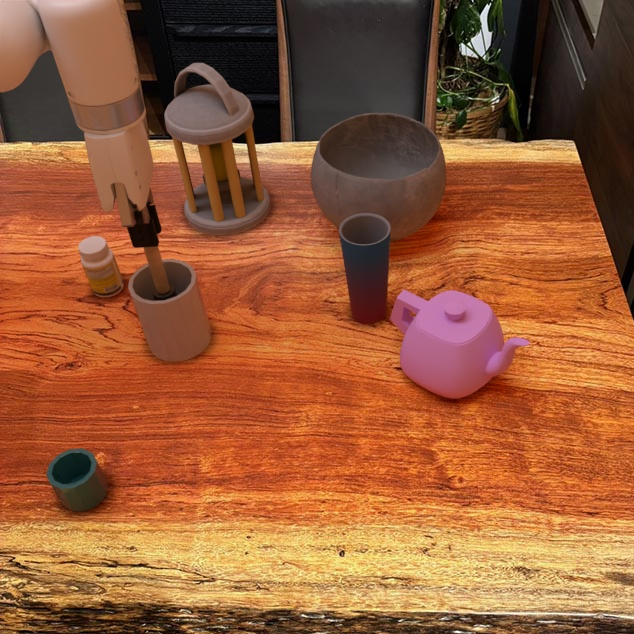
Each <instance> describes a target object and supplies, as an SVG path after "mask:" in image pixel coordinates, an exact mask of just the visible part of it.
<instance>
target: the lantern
mask: <svg viewBox="0 0 634 634" xmlns="http://www.w3.org/2000/svg"><path fill="white" fill-rule="evenodd" d="M189 73H192V74H193V73H194V74H196V75H199V76H201V77H202V78H204V79H205V80H207V82H209V83H210V84H203V85H196V86H193V87H191V88H187V89H186V81H187V77H188V75H189ZM173 95H174V98H173V100H171V101H170V103H169V104H168V105H167V107H166V109H165V111H164V124H165V128H166V129H165V130H166V132H167V133H168V134H169V136H171V138H172V142H173V146H174V151H175V154H176V158H177V163H178V166H179V171H180V175H181V179H182V182H183V186H184V190H185V195H186V198H185V201H184V203H183V209H184V216H185V219H186V221H187V222H188V224H189V225H190V227H192V228H193V229H195V230H196V231H199V232H200V233H203V234H207V235H212V236H230V235H231V236H232V235H236V234H242V233H244V232H246V231H248V230H252V229H254V228H255V227H257V226H258V225H260V224H261V223H262V222H264V220H265V219H266V218H267V216H268V215H269V214H270V210H271V199H270V193H269V191H268V189H266V188H265V187H264V186H263V184H262V178H261V173H260V166H259V160H258V153H257V148H256V143H255V135H254V129H253V122H254V119H255V115H254V110H253V107H252V103H251V100H250V99H249V98H248V97H247V96H246V95H245V94H244V93H243V92H240V91H239V90H236V89H234V88H232V87H230V85H229V84H228V83H227V81H226V80H225V78H224V77H223V76H222V75H221V74H220V73H219V72H218V71H217V70H215V68H214V67H211V66H210V65H208V64H206V63H204V62H194V63H193V62H192V63H191V64H190V65H188V66H186V67H185V68H183V69H182V70H180V71H179V73H178V74H177V77H176V80H175V81H174V90H173ZM242 134H244V137H245V143H246V150H247V155H248V161H249V166H250V171H251V178H250V177H245V176H241V172H240V170H239V168H238V165H237V159H236V154H235V148H234V143H233V140H234V139H236V138H238V137H239V136H241V135H242ZM183 143H186V144H190V145H196V146H197V149H198V154H199V158H200V163H201V166H202V173H203V174H202V181H203V182H202V183H200V184H198V185H197V186H196V187H195V188H194V186H193V183H192V178H191V174H190V171H189V165H188V161H187V157H186V153H185V149H184V144H183Z"/></svg>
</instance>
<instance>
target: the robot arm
mask: <svg viewBox="0 0 634 634" xmlns="http://www.w3.org/2000/svg"><path fill="white" fill-rule="evenodd" d="M48 51H51V52H52V55H53V58H54V62H55V64H56V67H57V70H58V73H59V75H60V78H61V82H62V84H63V87H64V90H65V94H66V97H67V99H68V102H69V106H70V109H71V112H72V114H73V118H74V120H75V124H76V126H77V127H78V129H80V131H82V132H83V136H84V143H85V144H84V145H85V150H86V154H87V159H88V163H89V167H90V171H91V175H92V178H93V182H94V185H95V189H96V193H97V196H98V200H99V203H100V206H101V209H102V211H104V212H105V214H109V213H113V210H114V206H115V204H117V208H118V213H119V218H120V224H121V228H126V230H127V232H128V236H129V239H130V242H131V245H132V247H133V248H135V249H143V247H157V246H158V247H159V244H160V240H159V235H160V234H161V233H162V229H163V228H162V224H161V221H160V218H159V214H158V210H157V207H156V204H154V195H153V192H152V188H151V185H152V182H153V181H152V180H153V176H154V175H153V174H154V157H153V153H152V150H151V146H150V141H149V138H148V135H147V131H146V128H145V125H144V122H143V120H144V119H145V117H146V114H147V110H146V106H145V102H144V98H143V94H142V91H141V86H140V83H139V79H138V76H137V71H136V67H135V64H134V59H133V56H132V52H131V48H130V44H129V41H128V37H127V33H126V29H125V25H124V21H123V18H122V14H121V10H120V6H119V2H118V0H0V93H6V92H9V91H12V90H14V89H16V88H17V87H19V86H20V85H21V84H22V83H23V82H24V81H25V80H26V79H27V77H28V75H29V74H30V72H31V71H32V69H33V68H34V66H35V64H36V62H37V60H38V59H39V58H40V57H41V56H42V55H43V54H45V53H46V52H48ZM146 206H147V208H146ZM132 208H136V209H138V210H139V211H140V212H139V211H132ZM147 209H148V211H147ZM148 213H149V214H148ZM149 216H150V218H149Z"/></svg>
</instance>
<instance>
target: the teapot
mask: <svg viewBox="0 0 634 634" xmlns="http://www.w3.org/2000/svg"><path fill="white" fill-rule="evenodd" d="M410 312H412V313H414V315H415V314H416V315H415V316H414V315H412V314H411V313H410ZM390 314H391V315H390V318H389V320H390V322H392V324H394V325H395V326H396V328H397V329H399V331H400V332H401V333H402V334H403V335H404V336H403V338H402V342H401V347H400V351H399V366H400V368H401V369H402V372H403V374H405V375H406V376H407V377H408V378H409V379H410V380H411V381H413V382H414V383H415V384H417V385H418V386H420V387H422V388H423V389H425V390H427V391H429V392H431V393H432V394H435V395H438V396H441V397H444V398H447V399H452V400H453V399H454V400H455V399H456V400H457V399H462V398H465V397H468V396H470V395H472V394H474V393H475V392H477V391H478V390H480V389H481V388H483V387H484V386H486V384H488V382H490V381H491V380H492V379H493V377H498V376H500V375H502V374H504V373H505V372H506V371H507V370H508V369H509V368H510V367H511V366H512V363H513V361H514V357H515V353H516V350H517V349H519V348H521V347H528V346H529V345H530V344H531V343H530V340H528V339H526V338H523V337H518V336H517V337H515V336H513V337H510V338H508V339H507V340H506V341H505V337H504V332H503V329H502V326H501V323H500V321H499V319H498V317H497V315H496V313H495V312H494V310H493V309H492V307H490V305H489V304H488V303H486V302H484V301H482V300H481V299H479V298H477V297H475V296H473V295H470V294H467V293H465V292H462V291H458V290H453V289H452V290H450V289H449V290H445V291H442V292H440V293H438V294H436V295H434V296H433V297H432V298H431V299H429V300H426V299H425V298H423V297H420V296H418V295H417V294H415V293H413V292H410V291H408V290H406V289H403V290H402V291H401V292H400V293H399V294H398V295H397V296H396V299H395V300H394V305H393V307H392V311H391V313H390Z"/></svg>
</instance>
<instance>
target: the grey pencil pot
mask: <svg viewBox="0 0 634 634" xmlns="http://www.w3.org/2000/svg"><path fill="white" fill-rule="evenodd" d="M162 261H163V265H164V268H165V272H166V275H167V279H168V282H169V283H171V284H173V285H174V287H175V290H176V294H177V296H176V297H173V298H170V299H167V300H160V301H155V300H154V297H153V293H152V290H153V288H154V286H155V284H154V281H153V278H152V274H151V271H150V268H149V265H148V262H147V263H146V264H144V265H142V266H140V267H139V268H138V269H136V270H135V271H134V272H133V274H132V275H131V276H130V277H129V281H128V284H127V289H128V292H129V295H130V298H131V301H132V303H133V307H134V309H135V312H136V315H137V318H138V321H139V323H140V326H141V329H142V332H143V335H144V338H145V340H146V344H147V346H148V348H149V351H150V353H151V354H152V355H153V356H154V357H155V358H157V359H159V360H162V361H165V362H171V363H177V362H184V361H187V360H188V361H189V360H191V359H193V358H195V357H197V356H199V355H200V354H202V352H204V351H205V350H206V349H207V347H209V345H210V342H211V339H212V329H211V325H210V322H209V321H210V320H209V318H208V314H207V310H206V306H205V303H204V302H205V301H204V298H203V295H202V291H201V287H200V283H199V279H198V276H197V273H196V271H195V269H194V267H193V266H192V265H190V264H189V263H187V262H186V261H184V260H180V259H175V258H164V259H162Z"/></svg>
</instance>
